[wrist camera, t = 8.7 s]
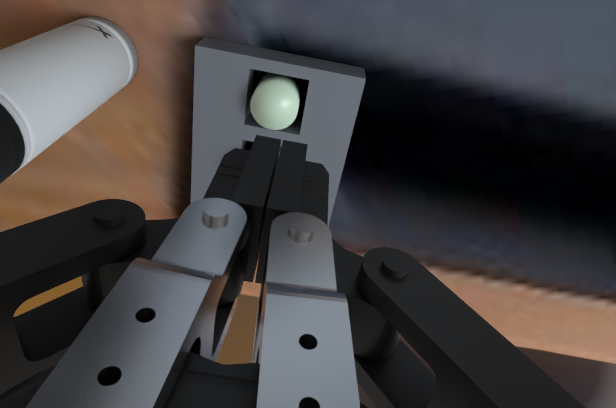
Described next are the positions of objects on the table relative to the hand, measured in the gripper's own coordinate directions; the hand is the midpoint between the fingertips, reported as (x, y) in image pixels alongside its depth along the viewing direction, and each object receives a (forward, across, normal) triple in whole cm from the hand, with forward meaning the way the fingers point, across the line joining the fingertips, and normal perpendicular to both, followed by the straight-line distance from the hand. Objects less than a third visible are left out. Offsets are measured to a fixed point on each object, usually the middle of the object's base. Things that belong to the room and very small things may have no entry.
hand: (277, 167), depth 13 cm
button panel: (+27, +2, +14) cm, 30 cm away
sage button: (+26, +2, +8) cm, 28 cm away
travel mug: (+27, +18, +7) cm, 33 cm away
